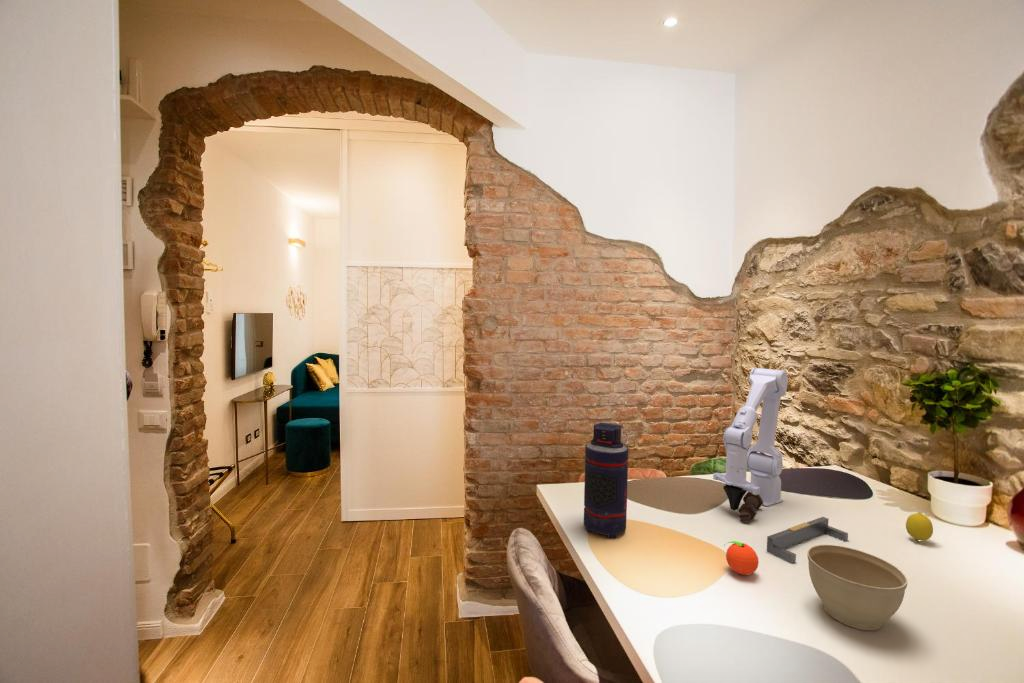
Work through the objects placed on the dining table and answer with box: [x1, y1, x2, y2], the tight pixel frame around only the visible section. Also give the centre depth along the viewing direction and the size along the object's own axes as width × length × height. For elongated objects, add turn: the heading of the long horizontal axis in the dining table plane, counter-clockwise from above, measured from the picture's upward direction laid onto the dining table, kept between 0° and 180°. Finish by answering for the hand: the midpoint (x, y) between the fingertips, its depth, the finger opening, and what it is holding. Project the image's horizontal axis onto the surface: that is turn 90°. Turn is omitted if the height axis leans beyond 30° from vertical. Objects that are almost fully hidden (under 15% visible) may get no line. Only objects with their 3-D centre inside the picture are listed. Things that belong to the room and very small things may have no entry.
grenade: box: [583, 421, 629, 539], centre depth 129 cm, size 14×12×30 cm
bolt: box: [737, 491, 763, 523], centre depth 139 cm, size 6×5×15 cm
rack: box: [766, 516, 849, 564], centre depth 121 cm, size 26×6×4 cm, turn 118°
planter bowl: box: [806, 544, 908, 631], centre depth 92 cm, size 16×16×11 cm
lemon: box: [905, 512, 934, 541], centre depth 124 cm, size 6×6×8 cm
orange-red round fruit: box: [723, 540, 760, 576], centre depth 108 cm, size 8×7×7 cm
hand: (734, 509), depth 140 cm, fingers closed
